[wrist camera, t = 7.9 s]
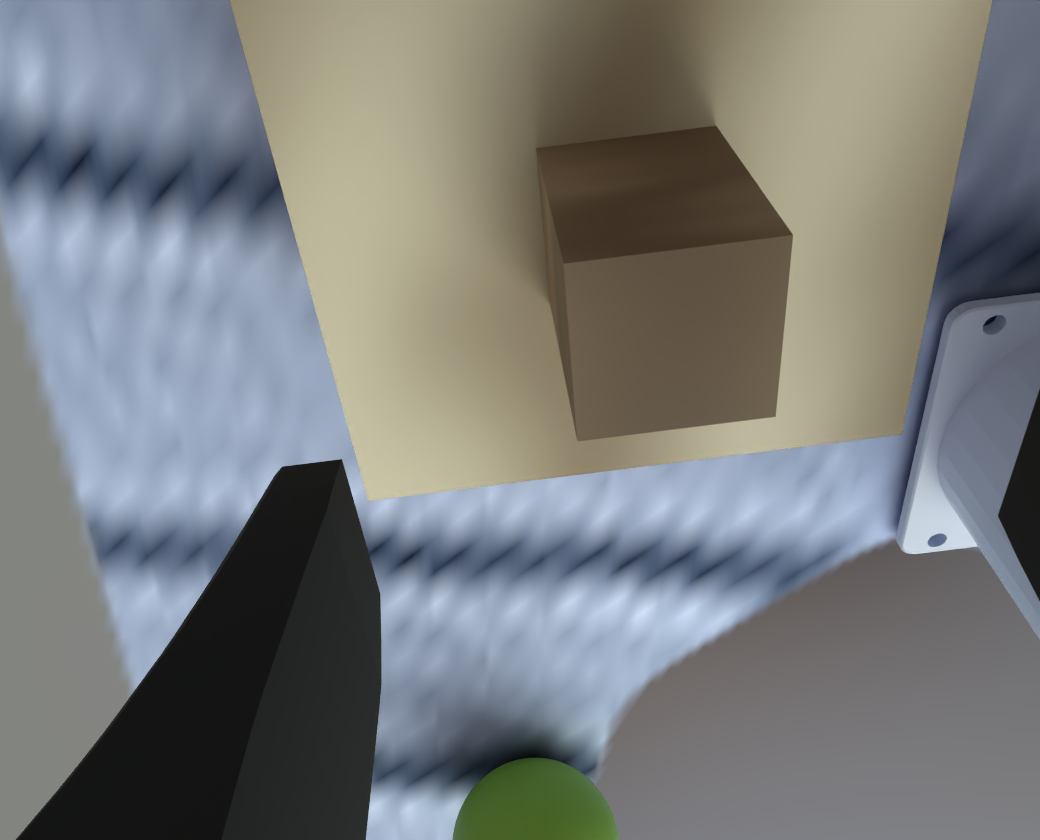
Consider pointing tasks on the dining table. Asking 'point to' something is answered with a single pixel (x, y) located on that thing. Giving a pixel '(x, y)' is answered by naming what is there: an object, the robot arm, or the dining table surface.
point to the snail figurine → (535, 805)
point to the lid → (613, 220)
